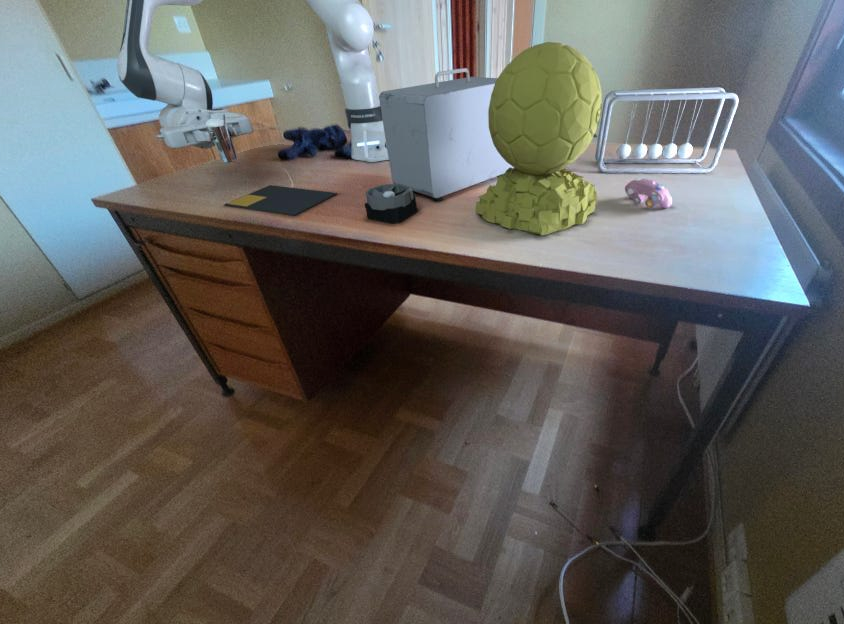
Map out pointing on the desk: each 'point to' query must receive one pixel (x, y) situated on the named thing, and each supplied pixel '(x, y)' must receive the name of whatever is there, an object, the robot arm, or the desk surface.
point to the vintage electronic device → (441, 135)
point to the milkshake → (222, 139)
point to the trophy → (542, 139)
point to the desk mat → (281, 200)
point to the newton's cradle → (656, 148)
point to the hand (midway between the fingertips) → (222, 134)
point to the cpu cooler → (390, 203)
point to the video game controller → (648, 193)
